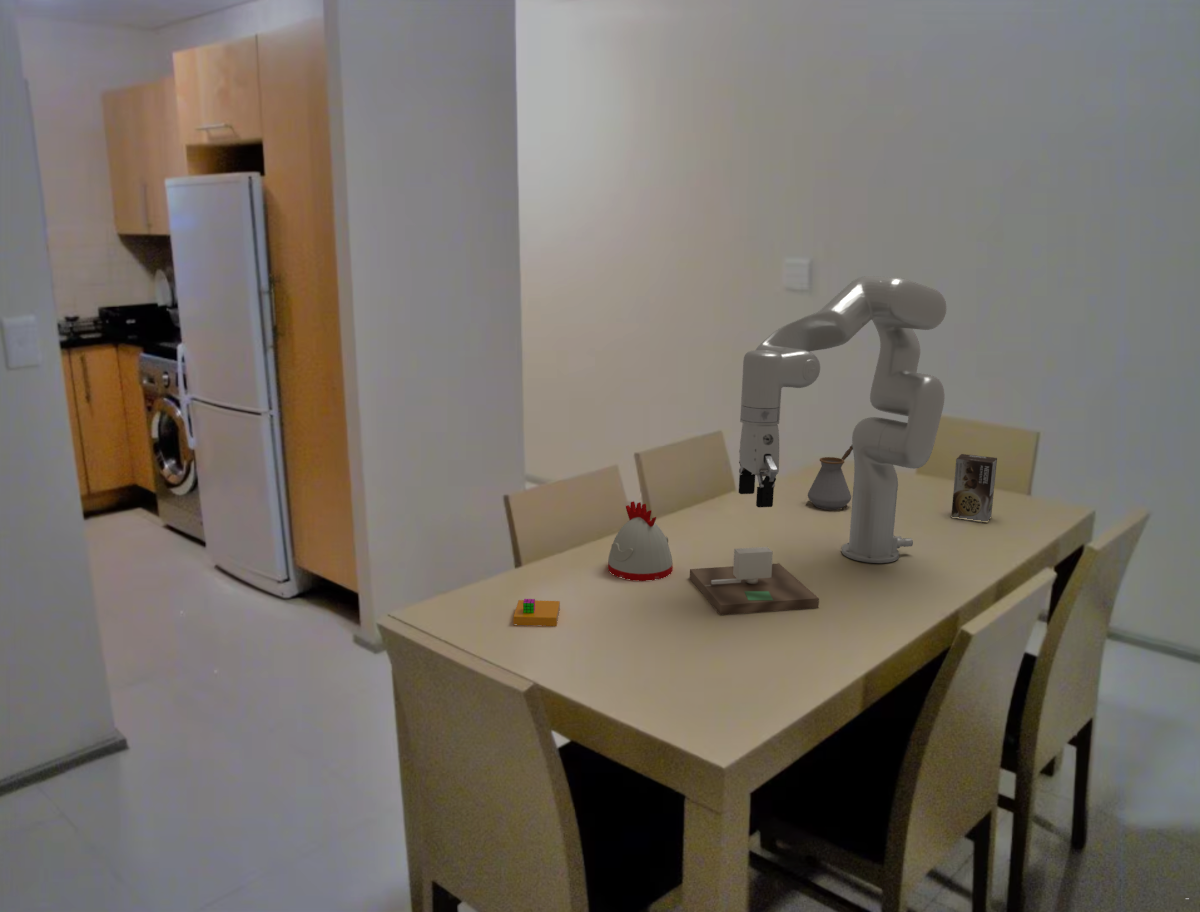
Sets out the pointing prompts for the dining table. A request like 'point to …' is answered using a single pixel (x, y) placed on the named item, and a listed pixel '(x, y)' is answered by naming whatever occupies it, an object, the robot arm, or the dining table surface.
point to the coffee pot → (830, 484)
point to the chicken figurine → (640, 548)
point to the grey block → (750, 565)
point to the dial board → (753, 591)
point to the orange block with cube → (536, 612)
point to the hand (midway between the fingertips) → (755, 500)
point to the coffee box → (974, 487)
